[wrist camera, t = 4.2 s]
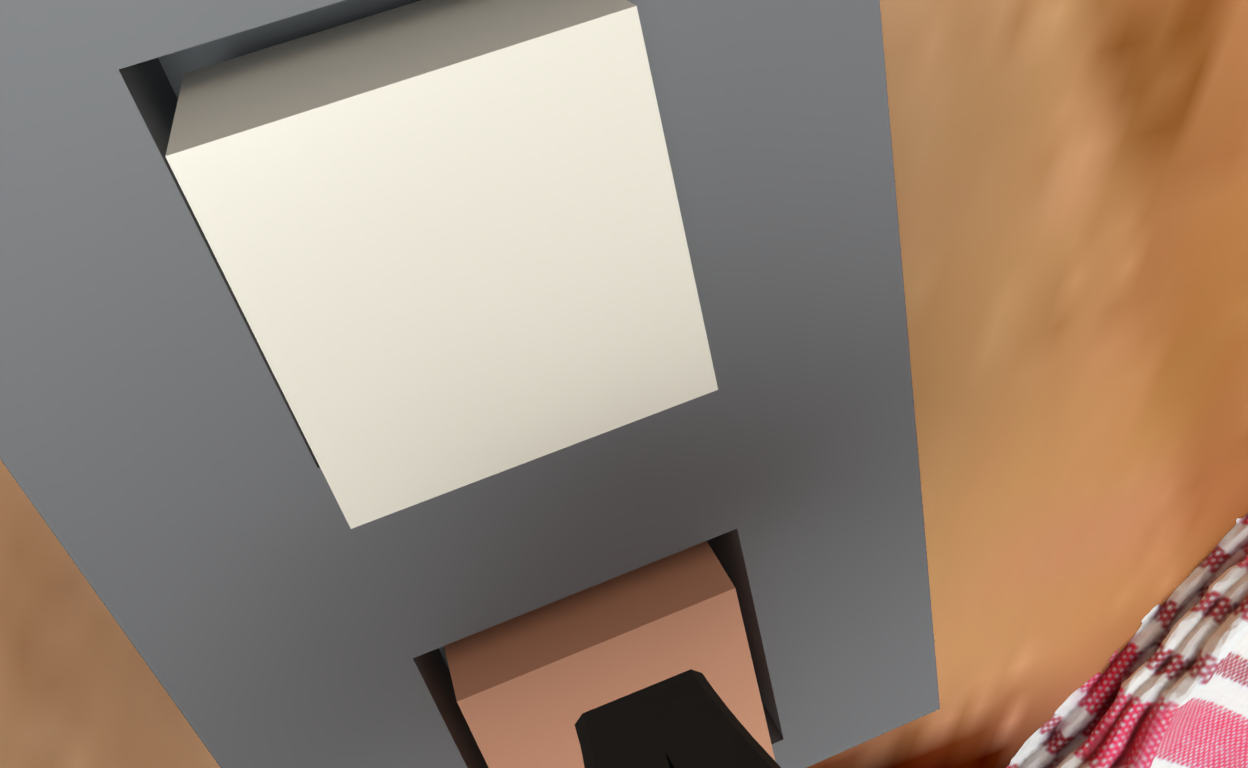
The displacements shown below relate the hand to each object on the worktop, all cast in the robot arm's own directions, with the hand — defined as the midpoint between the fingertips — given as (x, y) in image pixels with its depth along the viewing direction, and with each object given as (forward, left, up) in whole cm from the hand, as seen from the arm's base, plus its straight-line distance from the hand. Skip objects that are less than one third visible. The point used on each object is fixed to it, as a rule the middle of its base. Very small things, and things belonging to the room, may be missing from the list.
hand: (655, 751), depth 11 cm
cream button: (0, +5, -5) cm, 7 cm away
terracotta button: (0, -4, -6) cm, 7 cm away
